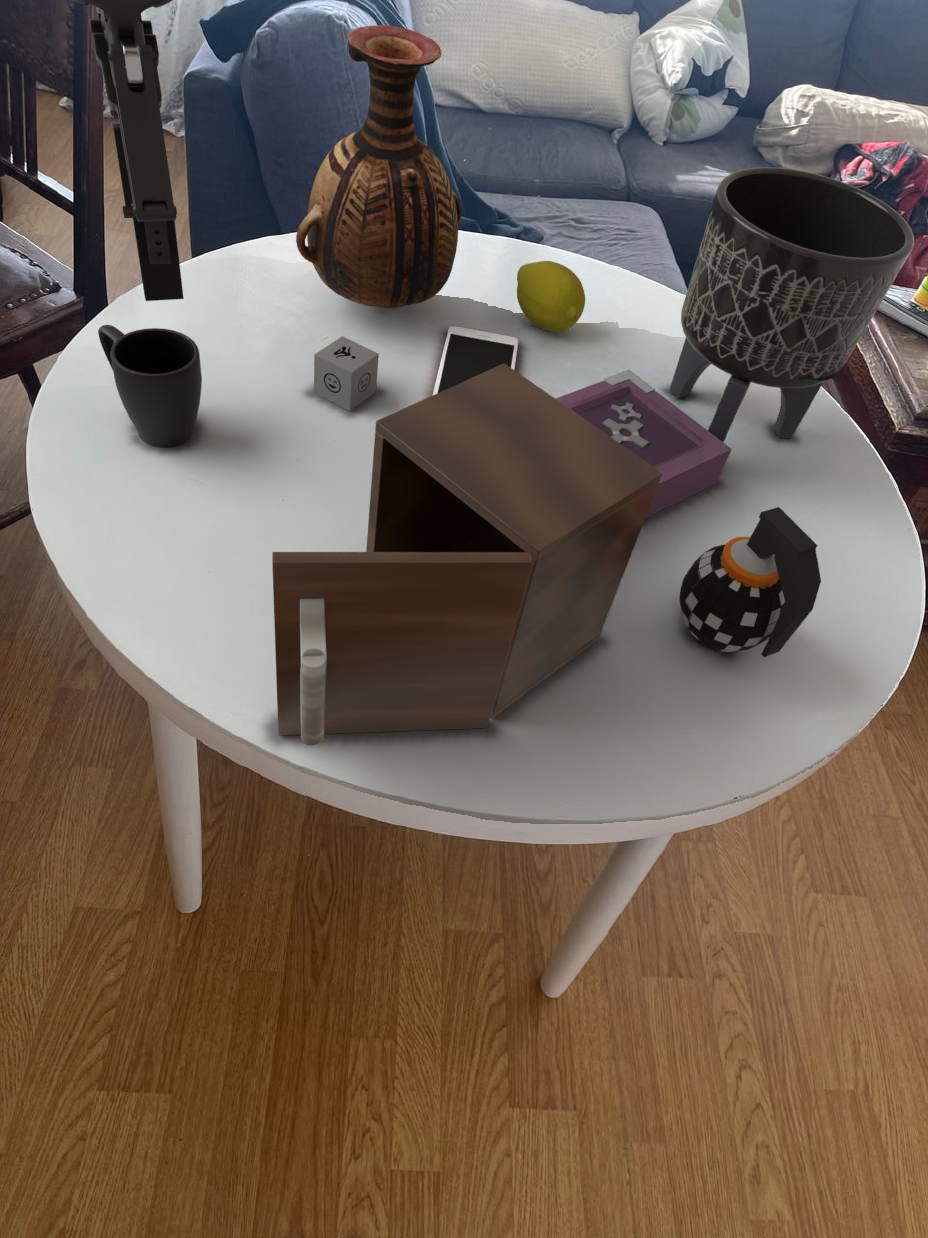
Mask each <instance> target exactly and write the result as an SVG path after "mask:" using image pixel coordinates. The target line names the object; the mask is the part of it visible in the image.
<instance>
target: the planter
mask: <svg viewBox="0 0 928 1238" xmlns="http://www.w3.org/2000/svg"><path fill="white" fill-rule="evenodd" d="M705 225H706V226H705V229H704V233H703V236H702V239H701V242H700V246H699V249H698V253H697V256H696V259H695V263H694V267H693V270H692V273H691V277H690V280H689V284H688V287H687V289H686V290H687V291H686V293H685V297H684V300H683V303H682V307H681V312H680V316H681V317H680V323H681V324H680V325H681V328H682V332H683V334H684V336H685V339H684V343H683V346H682V349H681V351H680V355H679V357H678V361H677V364H676V368H675V370H674V374H673V377H672V380H671V383H670V386H669V390H668V392H669V393H670V394H672V395H673V396H674V397H675V398H676V399H681V398H684V397H688V396H689V395H690V394H691V392H692V390H693V388H695V387H694V386H696V385H695V384H697V381H698V379H699V378H700V376H701V375H702V374H703V373H704V372H705V371H706V369H708V367H710V366H711V365H712V366H714V367H716V368H717V369H719V370H720V371H723V372H724V373H726V374H728V375H731V376H730V377H729V379H728V381H727V384H726V387H725V388H724V391H723V393H722V395H721V398H720V400H719V403H718V405H717V407H716V410H715V412H714V415H713V417H712V419H711V422H710V424H709V427H708V429H707V430H708V431H709V432H710V433H712V434H713V435H714V436H715V437H717V438H718V439H719V440H721V441H722V442H723V443H725V440H726V438H727V436H728V433H729V431H730V429H731V426H732V425H733V422H734V420H735V419H736V416H737V414H738V411H739V409H740V407H741V405H742V403H743V401H744V398H745V396H746V394H747V392H748V390H749V387H750V386H751V384H755V385H760V386H763V387H769V388H777V389H779V390H780V406H779V411H778V414H777V417H776V420H775V423H774V426H773V430H774V431H775V433H776V436H777V438H778V439H791V440H792V439H793V437H794V435H795V433H796V431H797V430H798V429H799V426H800V424H801V423H802V421H803V419H804V418H805V416H806V414H807V412H808V411H809V408H810V407H811V405H812V403H813V401H814V400H815V398H816V396H817V394H818V392H819V391H820V389H821V387H822V386H823V383H826V382H828V381H829V380H831V379H832V378H834V377H835V376H837V374H838V373H839V372H840V371H841V370H842V369H843V368H844V367H845V365H846V363H847V362H848V360H849V358H850V357H851V355H852V353H853V352H854V350H855V348H856V346H857V344H858V343H859V341H860V340H861V338H862V336H863V334H865V331H866V329H867V328H868V326H869V324H870V323H871V321H872V319H873V318H874V316H875V314H876V313H877V311H878V309H879V307H880V306H881V304H882V302H883V301H884V299H885V297H886V295H887V294H888V292H889V290H890V288H891V287H892V285H893V283H894V282H895V280H896V278H897V276H898V275H899V273H900V271H901V270H902V268H903V266H904V265H905V263H906V261H907V259H908V258H909V256H910V254H911V253H912V250H913V248H914V247H915V235H914V233H913V230H912V228H911V226H910V224H909V223H908V222H907V221H906V219H904V217H903V216H902V215H901V214H900V213H898V211H896V210H895V209H894V208H892V207H891V205H889V204H887V203H886V202H884V201H883V200H881V199H879V198H878V197H876V196H874V195H872V194H871V193H870V192H869V193H868V192H867V191H864V190H862V189H860V188H858V187H856V186H853V185H851V184H848V183H846V182H844V181H841V180H838V179H835V178H833V177H829V176H826V175H821V174H818V173H814V172H810V171H805V170H799V169H792V168H786V167H773V166H772V167H771V166H766V167H765V166H760V167H749V168H744V169H739V170H736V171H734V172H731V173H730V174H728V175H727V176H724V178H722V180H721V181H720V182H719V184H718V185H717V189H716V191H715V195H714V198H713V202H712V205H711V209H710V213H709V216H708V219H707V223H706V224H705Z"/></svg>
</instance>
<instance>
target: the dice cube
mask: <svg viewBox="0 0 928 1238" xmlns="http://www.w3.org/2000/svg"><path fill="white" fill-rule="evenodd" d="M379 355H380V353H378V352H376V351H374V350H372V349H370V348H368V347H366V346H364V345H362V344H360V343H358V342H355V341H353V340H351V339H349V338H348V337H346V336H344V335H342V336H340V337H339V338H337V339H335V340H333V342H331V343H329V344H328V345H327V346H325V347H323V348H322V349H320V350H319V351H318V352H316V353H314V354H313V356H314V358H313V360H314V361H313V374H314V375H313V393H314V394H315V395H317V396H319V397H321V398H323V399H324V400H327V401H329V402H331V403H332V404H334V405H337V406H338V407H340V408H342V409H345V410H346V411H348V412H351V411H352V410H354V409H355V408H356V407H358V406H359V405H361V404H362V403H363V402H364V401H366V400H367V399H368V398H370V397H371V396H373V394H375V393H377V385H378V372H379V371H378V369H379V357H380V356H379Z"/></svg>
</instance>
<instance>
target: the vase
mask: <svg viewBox="0 0 928 1238" xmlns="http://www.w3.org/2000/svg"><path fill="white" fill-rule="evenodd" d="M346 40H347V47H348V53H349V57H350V58H351V60H352V61H354V62H358V63H359V62H364V63H366V64H367V69H368V76H369V100H368V109H367V114H366V118H365V120H364V122H363V124H362V126H361V128H360V129H359V130H356V131H355V132H352V133H351V134H348V135H347V136H345V137H344V138H342V139H341V140H339V141H338V142H336V144H335V145H334V146H332V148H331V149H330V150H329V151H328V153H327V155H326V156H325V158H324V160H323V161H322V163H321V164H320V167H319V168H318V171H317V173H316V176H315V178H314V180H313V184H312V187H311V192H310V197H309V200H308V201H309V202H308V208H307V209H308V210H307V214H306V216H305V217H304V219H303V220H302V221H301V223H300V224H299V226H298V228H297V231H296V235H295V236H296V237H295V243H296V248H297V250H298V252H299V254H300V256H301V257H302V259H304V260H306V261H307V262H309V263H311V264H312V266H313V267H314V270H315V271H316V273H317V275H318V277H319V278H320V280H321V281H322V282H323V284H324V285H325V286H326V287H328V288H329V289H330V290H331V291H333V292H334V293H335V294H337V295H338V296H340V297H342V298H344V299H346V300H348V301H351V302H352V303H353V302H354V303H356V304H360V305H363V306H367V307H373V308H379V309H380V308H383V309H391V308H393V309H394V308H403V307H408V306H413V305H417V304H420V303H423V302H426V301H428V300H430V299H433V298H434V297H435V296H437V295H438V293H440V291H441V290H443V288H444V286H445V285H446V283H447V282H448V281H449V278H450V276H451V273H452V271H453V267H454V263H455V259H456V254H457V248H458V242H459V224H460V221H461V217H462V207H461V203H460V198H459V197H458V196H457V195H456V192H455V191H454V190H453V187H452V183H451V181H450V178H449V175H448V173H447V171H446V169H445V167H444V165H443V163H442V161H441V160H440V158H439V157H438V156H437V155H436V153H435V152H434V150H432V149H431V148H430V147H429V146H428V145H427V144H426V143H424V142H423V141H421V140H420V139H418V136H417V133H416V130H415V129H416V128H415V122H414V93H415V84H416V79H417V76H418V74H419V72H420V70H421V68H422V67H425V66H426V67H427V66H430V65H432V64H434V63H435V62H436V61H438V60H440V59H441V57H442V54H443V53H442V52H443V51H442V49H441V46H440V45H439V43H438V42H436V41H435V40H434V39H432V38H431V37H428V36H426V35H424V34H422V33H420V32H418V31H415V30H412V29H410V28H405V27H402V26H392V25H385V24H381V25H379V24H378V25H366V26H365V25H364V26H359V27H357V28H355V29H353V30H352V31H350V32H349V33H348V35H347V37H346ZM306 240H307V241H306ZM306 242H307V245H306Z"/></svg>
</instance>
